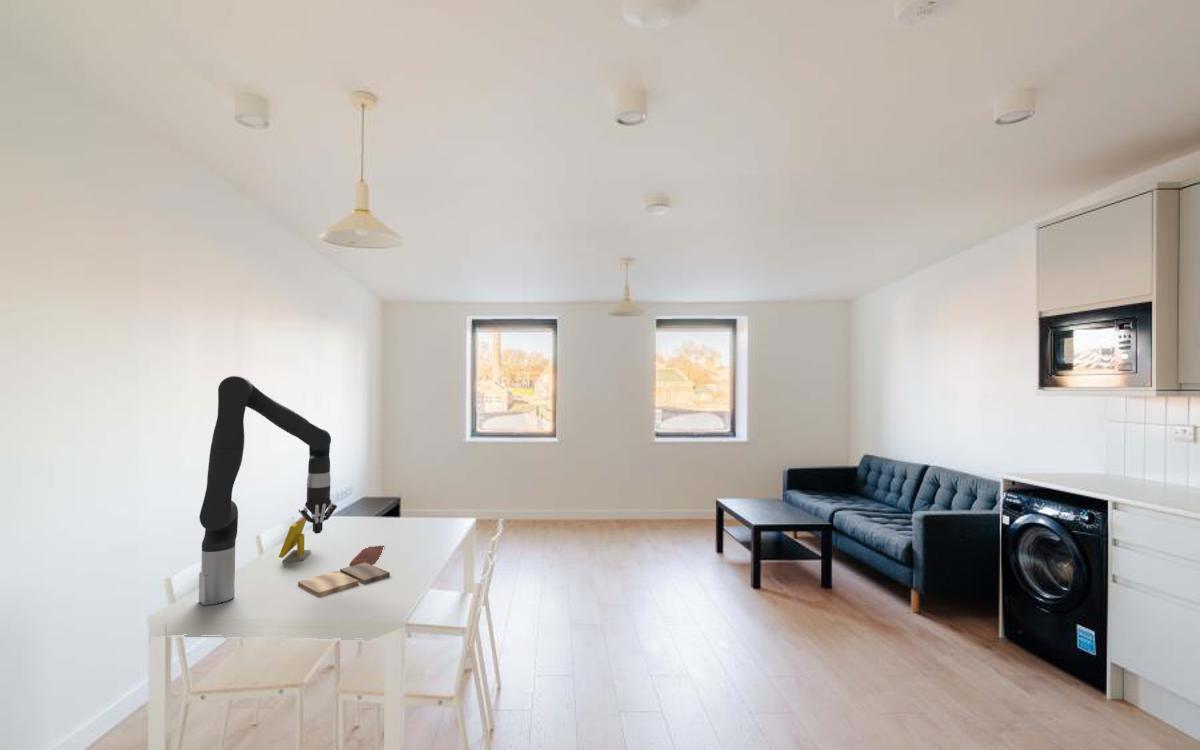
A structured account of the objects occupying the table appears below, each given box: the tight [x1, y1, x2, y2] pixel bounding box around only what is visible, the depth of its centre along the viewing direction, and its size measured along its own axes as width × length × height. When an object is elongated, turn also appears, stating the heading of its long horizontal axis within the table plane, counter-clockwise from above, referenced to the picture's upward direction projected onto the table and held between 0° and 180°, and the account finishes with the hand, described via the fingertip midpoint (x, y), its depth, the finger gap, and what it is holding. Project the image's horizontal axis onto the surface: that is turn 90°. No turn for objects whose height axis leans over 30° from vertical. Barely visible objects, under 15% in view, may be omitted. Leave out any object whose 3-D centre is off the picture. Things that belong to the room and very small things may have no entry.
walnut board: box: [339, 562, 391, 585], centre depth 203 cm, size 10×18×2 cm, turn 51°
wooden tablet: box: [348, 545, 385, 567], centre depth 226 cm, size 27×10×2 cm, turn 11°
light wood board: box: [297, 570, 359, 598], centre depth 193 cm, size 14×16×2 cm
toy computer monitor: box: [278, 515, 311, 563], centre depth 224 cm, size 20×8×16 cm, turn 14°
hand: (317, 532), depth 194 cm, fingers closed
